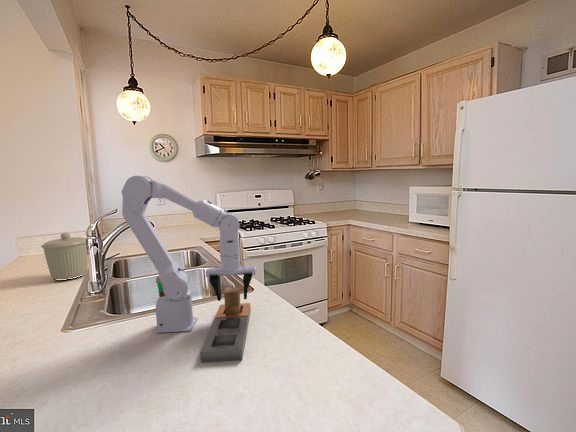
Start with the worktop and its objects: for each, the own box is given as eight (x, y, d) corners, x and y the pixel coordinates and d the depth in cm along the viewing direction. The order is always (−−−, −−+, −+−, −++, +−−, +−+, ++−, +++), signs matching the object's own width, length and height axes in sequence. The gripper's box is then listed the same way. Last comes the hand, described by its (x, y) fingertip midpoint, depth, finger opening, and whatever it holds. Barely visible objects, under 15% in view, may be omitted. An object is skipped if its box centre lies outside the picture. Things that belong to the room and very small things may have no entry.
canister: (75, 283, 134) (70, 235, 132) (34, 284, 134) (28, 237, 132) (101, 271, 152) (97, 229, 150) (65, 272, 152) (60, 230, 150)
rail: (200, 362, 70) (200, 351, 70) (220, 312, 97) (220, 304, 97) (242, 359, 71) (241, 348, 71) (250, 311, 98) (250, 303, 97)
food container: (174, 306, 104) (171, 277, 103) (157, 305, 106) (155, 277, 104) (192, 293, 116) (190, 267, 115) (177, 292, 118) (175, 267, 116)
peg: (225, 322, 90) (224, 292, 89) (227, 316, 94) (226, 288, 93) (239, 321, 91) (237, 292, 90) (241, 315, 95) (239, 287, 94)
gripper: (202, 258, 87) (205, 305, 88) (254, 256, 87) (256, 302, 89) (207, 253, 94) (210, 296, 95) (255, 250, 94) (257, 294, 96)
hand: (232, 298), depth 92 cm, fingers open, 7 cm apart
